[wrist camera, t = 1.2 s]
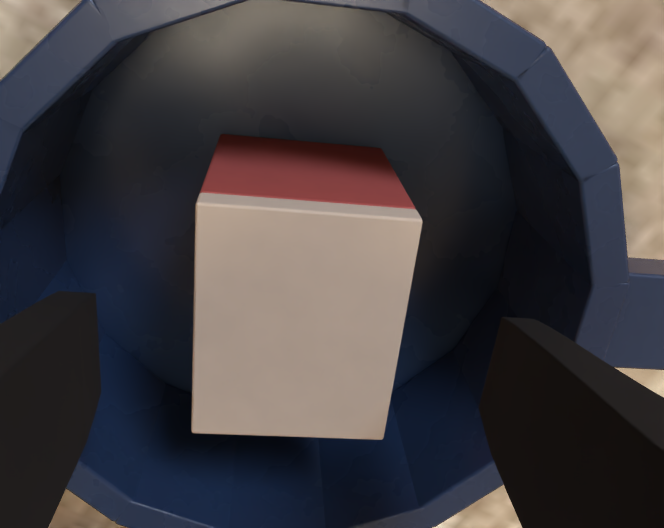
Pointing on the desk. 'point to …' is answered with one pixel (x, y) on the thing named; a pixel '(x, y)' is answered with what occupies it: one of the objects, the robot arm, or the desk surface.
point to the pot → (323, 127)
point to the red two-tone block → (299, 289)
